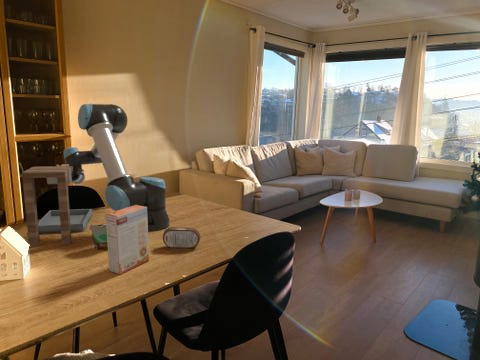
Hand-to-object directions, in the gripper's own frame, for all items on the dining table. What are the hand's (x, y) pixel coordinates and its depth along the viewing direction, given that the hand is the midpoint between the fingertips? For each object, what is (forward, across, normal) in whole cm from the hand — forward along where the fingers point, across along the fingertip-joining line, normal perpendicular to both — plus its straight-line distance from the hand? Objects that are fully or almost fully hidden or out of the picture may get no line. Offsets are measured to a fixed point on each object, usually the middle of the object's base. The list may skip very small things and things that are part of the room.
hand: (61, 167), depth 162 cm
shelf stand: (+9, +1, -32) cm, 33 cm away
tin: (+25, -50, -37) cm, 68 cm away
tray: (-11, 0, -25) cm, 28 cm away
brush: (-1, 0, -4) cm, 5 cm away
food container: (+21, -22, -36) cm, 47 cm away
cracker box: (+38, -31, -42) cm, 64 cm away
